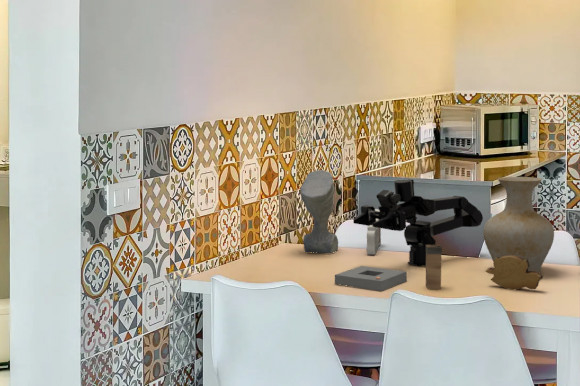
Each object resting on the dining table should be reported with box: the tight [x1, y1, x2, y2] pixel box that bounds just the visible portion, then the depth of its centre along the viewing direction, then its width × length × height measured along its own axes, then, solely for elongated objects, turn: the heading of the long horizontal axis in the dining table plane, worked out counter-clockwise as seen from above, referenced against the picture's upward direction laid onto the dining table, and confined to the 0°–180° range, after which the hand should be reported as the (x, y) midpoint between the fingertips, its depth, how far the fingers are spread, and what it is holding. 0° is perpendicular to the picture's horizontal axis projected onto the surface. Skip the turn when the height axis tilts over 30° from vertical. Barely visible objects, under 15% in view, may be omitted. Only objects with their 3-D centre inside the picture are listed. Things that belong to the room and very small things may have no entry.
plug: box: [425, 244, 443, 290], centre depth 248 cm, size 4×4×12 cm
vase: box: [482, 176, 555, 274], centre depth 268 cm, size 22×22×30 cm
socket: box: [334, 265, 408, 292], centre depth 256 cm, size 16×16×3 cm
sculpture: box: [300, 169, 339, 254], centre depth 304 cm, size 12×23×30 cm, turn 170°
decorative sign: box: [366, 208, 382, 256], centre depth 309 cm, size 23×3×15 cm, turn 168°
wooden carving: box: [485, 255, 544, 290], centre depth 246 cm, size 16×5×10 cm, turn 61°
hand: (363, 223), depth 266 cm, fingers open, 9 cm apart
